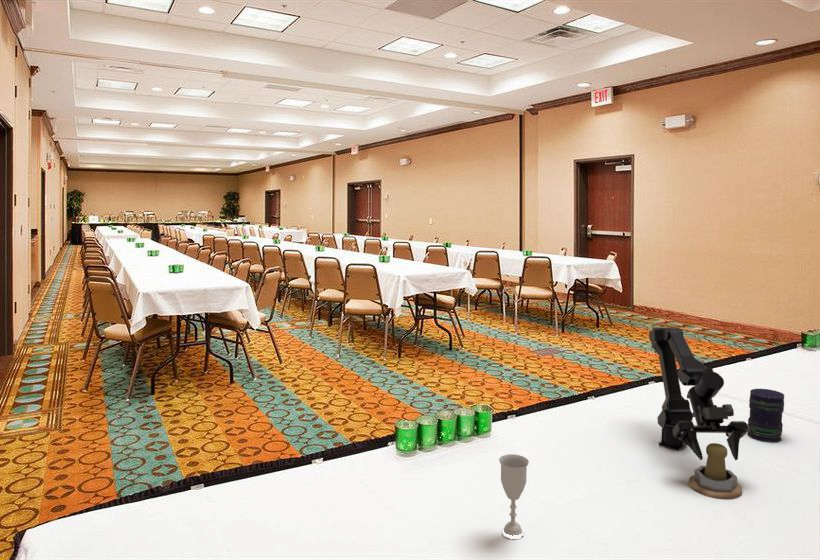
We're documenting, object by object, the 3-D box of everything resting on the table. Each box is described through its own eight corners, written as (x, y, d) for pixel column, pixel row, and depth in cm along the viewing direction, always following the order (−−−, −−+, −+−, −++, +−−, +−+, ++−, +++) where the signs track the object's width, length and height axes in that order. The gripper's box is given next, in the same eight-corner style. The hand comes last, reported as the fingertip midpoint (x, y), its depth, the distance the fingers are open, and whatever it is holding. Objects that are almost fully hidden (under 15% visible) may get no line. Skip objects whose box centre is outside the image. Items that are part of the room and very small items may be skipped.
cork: (726, 490, 159) (728, 451, 158) (700, 485, 162) (703, 446, 161) (728, 482, 164) (730, 443, 163) (704, 476, 167) (706, 439, 166)
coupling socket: (680, 486, 164) (680, 472, 163) (700, 472, 172) (701, 459, 172) (730, 504, 154) (731, 489, 154) (749, 488, 163) (750, 474, 162)
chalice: (495, 526, 144) (495, 454, 142) (522, 524, 145) (523, 453, 143) (502, 543, 137) (503, 468, 135) (531, 541, 138) (532, 466, 135)
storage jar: (782, 435, 200) (785, 391, 198) (781, 445, 191) (784, 399, 190) (747, 429, 205) (750, 386, 203) (745, 438, 197) (748, 394, 195)
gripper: (678, 392, 164) (693, 447, 155) (748, 393, 164) (767, 448, 154) (666, 410, 173) (679, 463, 164) (732, 411, 172) (749, 464, 163)
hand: (719, 459), depth 161 cm, fingers open, 9 cm apart
